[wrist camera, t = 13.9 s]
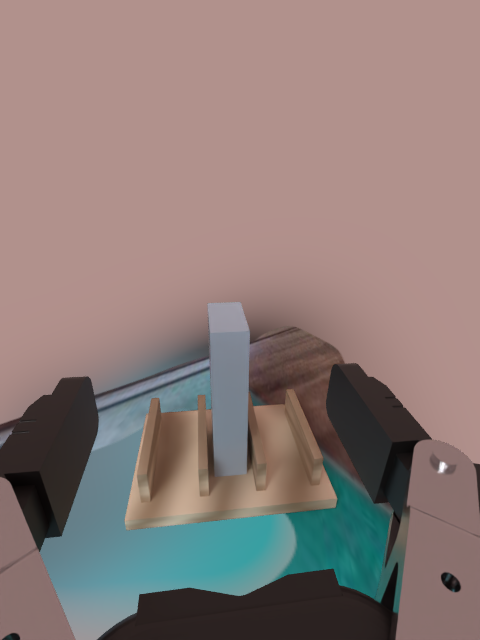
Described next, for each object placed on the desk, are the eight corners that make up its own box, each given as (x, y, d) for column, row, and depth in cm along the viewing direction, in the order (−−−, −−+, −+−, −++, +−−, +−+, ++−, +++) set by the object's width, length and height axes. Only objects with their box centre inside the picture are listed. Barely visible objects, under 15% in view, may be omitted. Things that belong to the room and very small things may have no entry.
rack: (126, 530, 28) (118, 492, 26) (147, 422, 39) (143, 390, 37) (335, 507, 29) (342, 471, 28) (295, 411, 41) (298, 380, 39)
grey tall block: (214, 477, 31) (209, 332, 25) (212, 430, 36) (207, 303, 30) (246, 474, 31) (249, 331, 25) (239, 428, 37) (240, 302, 30)
